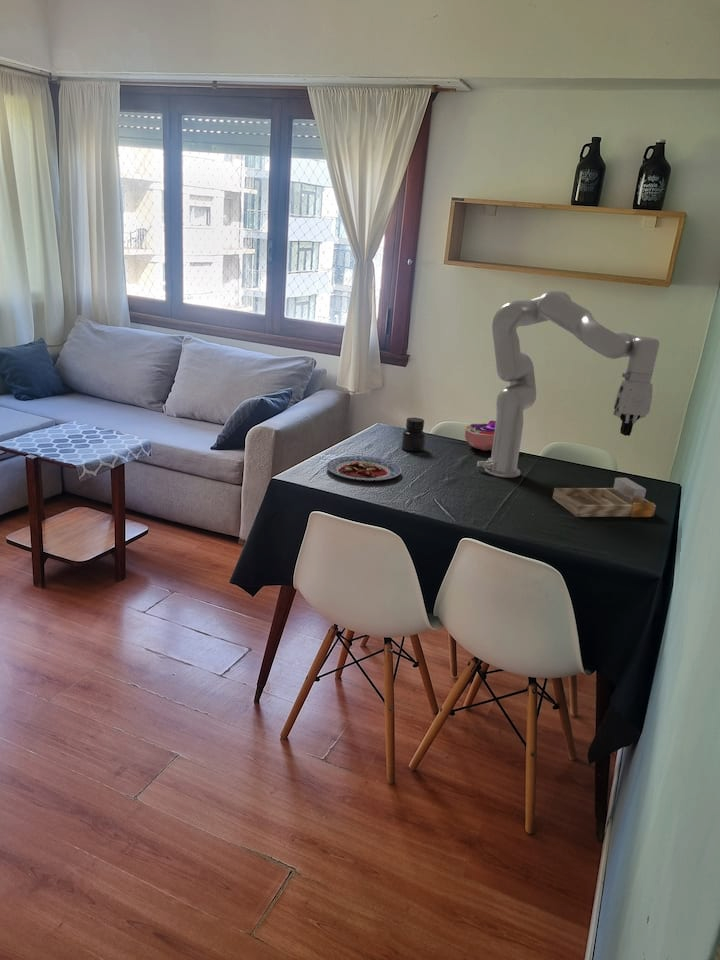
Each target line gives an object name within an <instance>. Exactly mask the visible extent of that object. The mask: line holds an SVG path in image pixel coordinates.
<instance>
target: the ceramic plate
mask: <svg viewBox="0 0 720 960" xmlns="http://www.w3.org/2000/svg"><path fill="white" fill-rule="evenodd" d="M348 464H349V465H348ZM342 466H343V467H342ZM340 467H341V468H340ZM339 468H340V469H339ZM326 469H327V470H328V471H329V472H330V473H332V474H334V475H336V476H339V477H342V478H346V479H351V480H355V479H356V480H357V481H362V480H364V481H365V482H366V481H368V482H370V481H371V482H372V481H374V480H375V481H384V480H390V479H394V478H396V477H398V476H399V475H401V473H402V468H401V467H400V466H399V465H398V464H397V463H394V462H392V461H390V460H387V459H383V458H378V457H374V456H373V457H372V456H363V455H362V456H361V455H354V456H353V455H349V456H341V457H336V458H333V459H331V460H329V461H328V462H327V463H326Z"/></svg>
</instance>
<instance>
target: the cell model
mask: <svg viewBox="0 0 720 960" xmlns="http://www.w3.org/2000/svg"><path fill="white" fill-rule="evenodd" d="M495 424H496V420H490V421H489V422H488V423H471V424H468V425H467V426H466V427H465V429H464V438H465V439H464V440H466V442H468V444H469V445H470V446H471V447H473V448H474V449H477V450H481V451H485V452H486V451H492V447H493V440H494V432H495Z"/></svg>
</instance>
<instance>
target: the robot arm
mask: <svg viewBox="0 0 720 960" xmlns="http://www.w3.org/2000/svg"><path fill="white" fill-rule="evenodd" d="M548 321H551V322H552V323H554V325H558V327H561V328H562V329H564V330H565V331H567V332H569V333H570V334H572V335H573V336H574V337H575V338H576V339H578V340H579V341H580V342H582V343H583V344H584V345H585V346H586V347H588V348H589V349H591V350H592V351H595V352H596V353H598V354H600V355H601V356H603V357H605V358H608V359H610V360H617V359H619V358H628V363H627V368H626V371H625V372H623V373H622V375H621V376H622V378H624V379H623V380H622V382H621V383H620V386H619V389H618V391H617V394H616V397H615V401H614V406H613V408H614V410H613V414H612V415H614V416H615V417H617V418H619V419H620V421H621V425H620V429H619V430H620V434H622V435H623V436H625V437H626V436H628V437H630V436H631V433H632V432H633V431H632V430H633V427H634V425H635V424H636V422H637V421H638V420H639V419H642V418H646V417H647V415H648V414H649V413H650V410H651V404H652V399H653V390H654V389H653V383H651V381H652V377H653V373H654V369H655V365H656V360H657V356H658V351H659V349H660V341H659V339H657V338H653V337H649V336H648V337H647V336H639V335H633V334H631V333H627V332H618V333H615V332H614V331H612V330H610V329H609V328H607V327H605V326H604V325H602V324H600V323H599V322H598V321H597V320H596V319H595V318H594V317H593V314H592V313H591V311H590V310H589V309H587V308H585V307H583V306H581V304H578V303H576V302H575V301H573V300H572V299H571V297H570V296H569V294H568V293H566V292H565V291H560V290H551V291H547V292H544V293H543V294H542V295H540V296H538V297H535V298H531V299H527V300H526V299H524V300H512V301H509V302H507V303H505V304H503V305H502V306H501V307H499V308H498V309H497V311H496V313H494V315H493V319H492V325H491V328H492V329H491V330H492V338H493V348H494V354H495V355H494V356H495V366H496V373H497V376H498V378H499V379H500V380H501V381H502V382H507V383H509V386H506V387H503V388H502V389H501V390H500V392H499V394H498V395H497V397H496V406H495V408H496V417H495V421H496V424H495V432H494V440H493V447H492V450H491V456H490V457H488V458H487V459H486V460H478V461H477V462H476V466H477V467H483V468H484V470H485V471H484V472H485V473H487V474H489V475H492V476H495V477H499V478H508V479H509V478H511V479H512V478H517V477H519V476H520V475H521V470H520V469H519V468H518V463H519V462H518V461H519V456H520V450H521V442H522V436H523V429H524V411H525V410H527V409H529V408H531V407H533V405H534V403H535V402H536V399H537V386H536V378H535V370H534V364H533V361H532V359H531V358H530V356H529V355H528V354H527V353H526V352H525V353H524V352H521V345H520V339H519V335H518V333H517V328H519V327H526V326H531V325H535V324H540V323H543V322H548Z"/></svg>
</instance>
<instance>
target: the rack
mask: <svg viewBox="0 0 720 960" xmlns="http://www.w3.org/2000/svg"><path fill="white" fill-rule="evenodd" d="M612 492H613V487H598V488H597V487H579V488H578V487H554V488H553V493H552V499H553V500H554V501H555V502H557V503H558V504H559V505H561V506H562V507H564V508H565V510H567V511H569V512H570V513H571V514H572V515H573V516H574V517H576V518H577V517H578V518H579V517H580V518H582V517H583V518H585V517H586V518H589V517H591V518H593V517H595V518H597V517H602V518H603V517H631V518H651V517H654V516H655V513H656V508H657V505H656V504H655V503H654V502H651V501H649V500H648V499H646V498H644V502H643V503H633V505H630V504H628V503H627V502H625V501H624V500H622V499H620V498H619V497H617V496H616V495H614V494H613V493H612Z"/></svg>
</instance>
